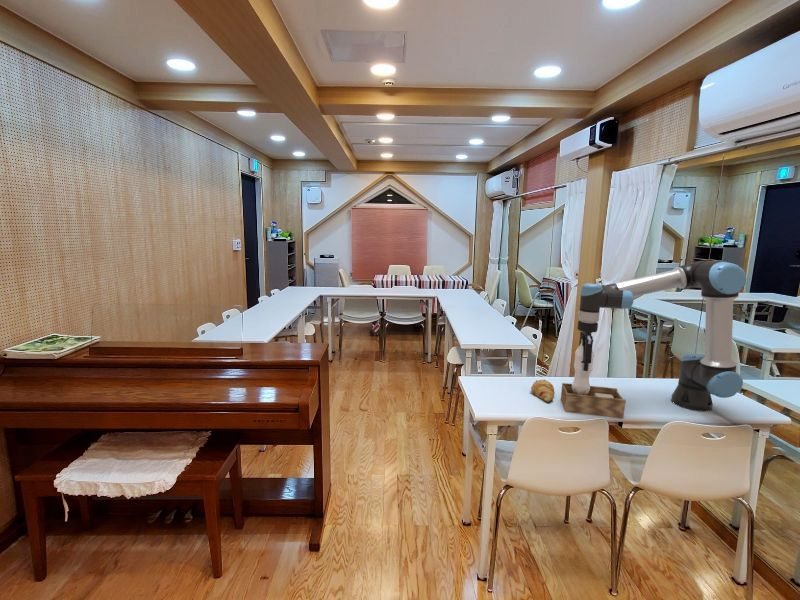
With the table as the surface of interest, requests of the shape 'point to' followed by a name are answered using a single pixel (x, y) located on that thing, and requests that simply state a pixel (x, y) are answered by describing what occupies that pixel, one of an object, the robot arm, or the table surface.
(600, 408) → the crate
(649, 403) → the table surface
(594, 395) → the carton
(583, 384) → the water bottle
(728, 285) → the robot arm
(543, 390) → the croissant
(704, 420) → the table surface
